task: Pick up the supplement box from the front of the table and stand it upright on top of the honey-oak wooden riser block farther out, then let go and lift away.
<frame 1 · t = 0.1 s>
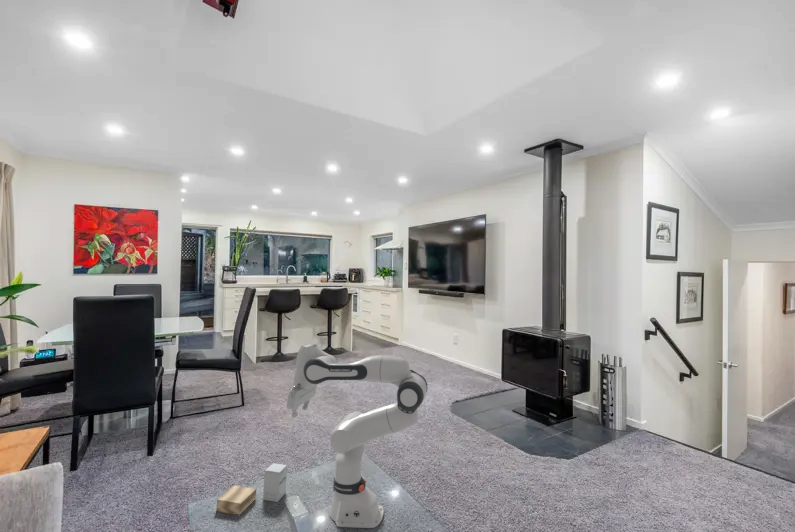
hand: (299, 412, 160), 39 cm above the table, tool pointing down, fingers open, 8 cm apart
oak riser block: (236, 506, 156), on the table
supplement box: (274, 496, 163), on the table
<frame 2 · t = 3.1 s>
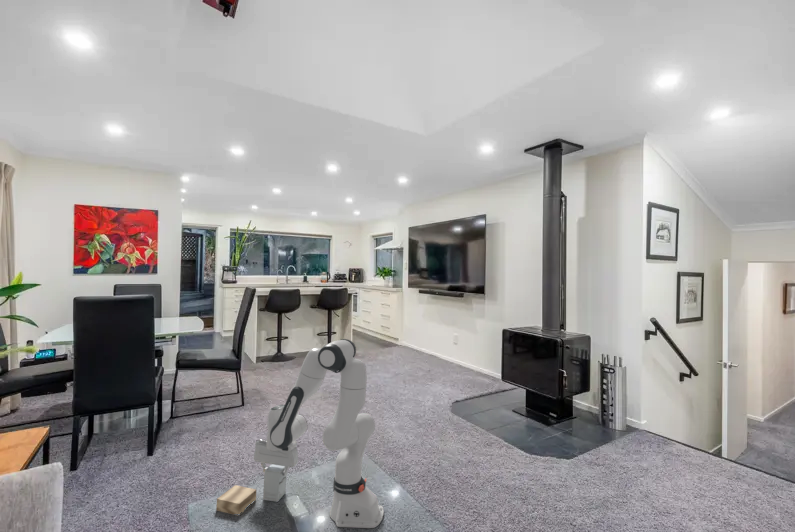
hand: (274, 473, 164), 10 cm above the table, tool pointing down, fingers open, 8 cm apart
supplement box: (274, 496, 163), on the table, touching gripper
everything else where it was.
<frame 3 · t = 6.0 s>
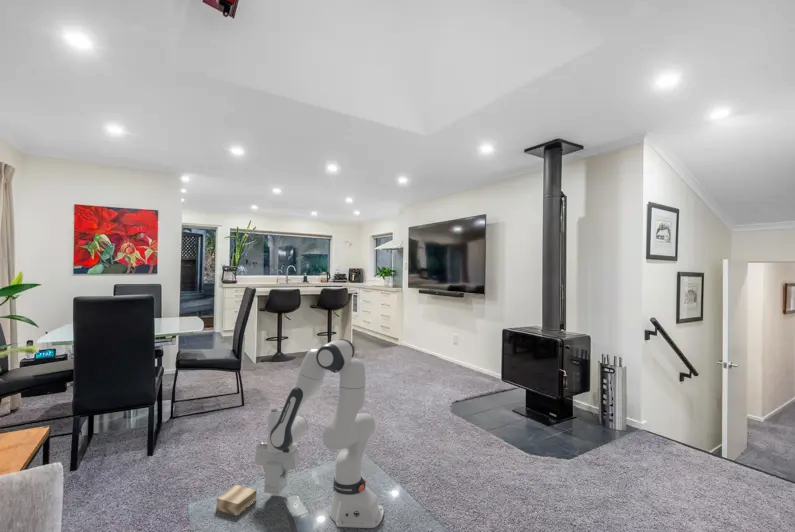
hand: (276, 476, 164), 9 cm above the table, tool pointing down, fingers closed on supplement box, 7 cm apart
supplement box: (275, 490, 163), point 3 cm above the table, touching gripper
everything else where it was.
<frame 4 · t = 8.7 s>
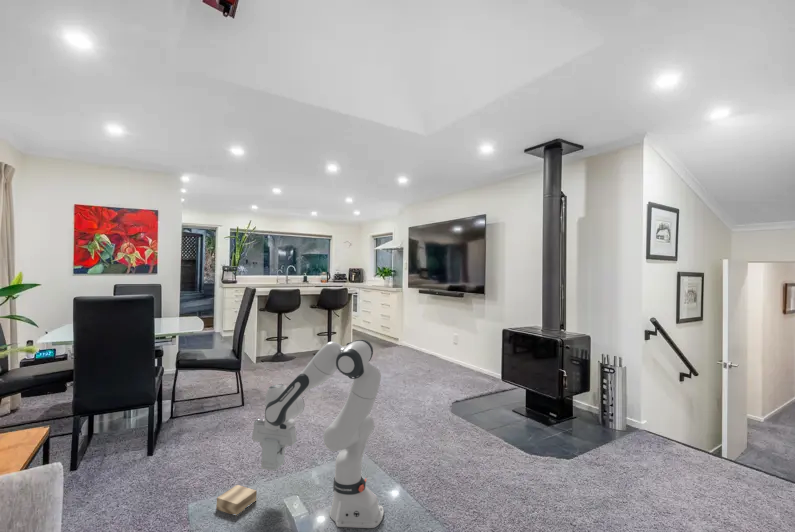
hand: (273, 452, 164), 19 cm above the table, tool pointing down, fingers closed on supplement box, 7 cm apart
supplement box: (272, 466, 163), point 13 cm above the table, touching gripper
everything else where it was.
when the fingers open (12 cm above the table, at t = 13.7 s): supplement box moves 1 cm, resting on oak riser block.
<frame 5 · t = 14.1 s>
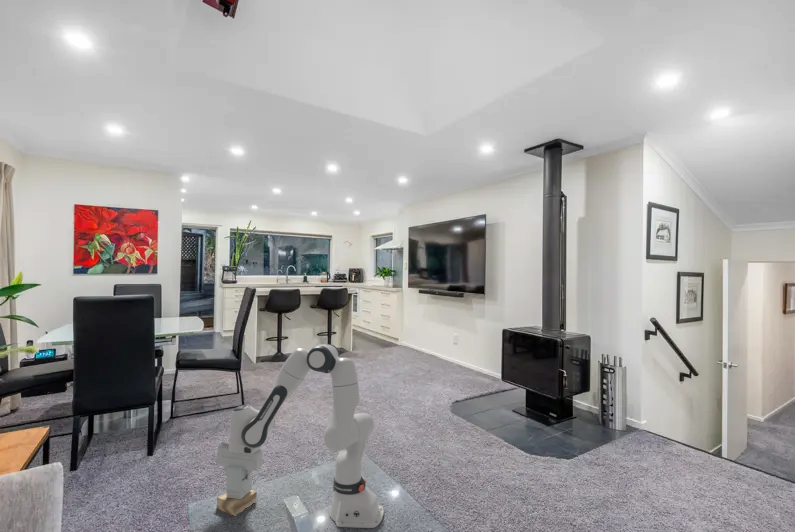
hand: (238, 477, 157), 12 cm above the table, tool pointing down, fingers open, 8 cm apart
oak riser block: (236, 506, 156), on the table, touching supplement box
supplement box: (239, 494, 156), point 5 cm above the table, touching gripper, oak riser block
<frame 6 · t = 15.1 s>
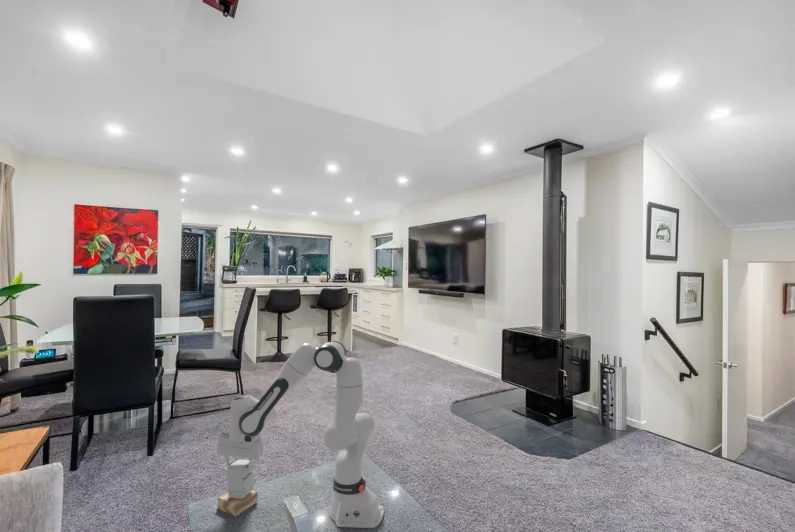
hand: (239, 466, 157), 16 cm above the table, tool pointing down, fingers open, 8 cm apart
supplement box: (241, 494, 156), point 5 cm above the table, touching oak riser block
everything else where it was.
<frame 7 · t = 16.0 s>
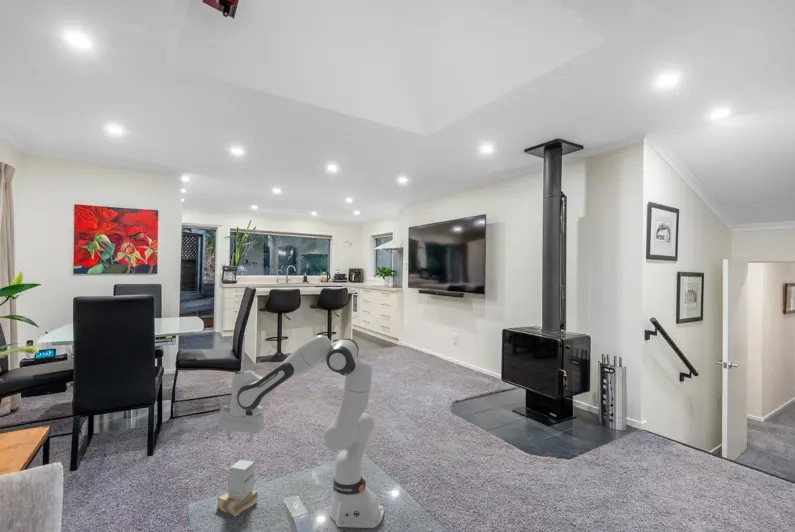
hand: (239, 440, 157), 27 cm above the table, tool pointing down, fingers open, 8 cm apart
oak riser block: (237, 506, 156), on the table
supplement box: (240, 495, 156), point 4 cm above the table
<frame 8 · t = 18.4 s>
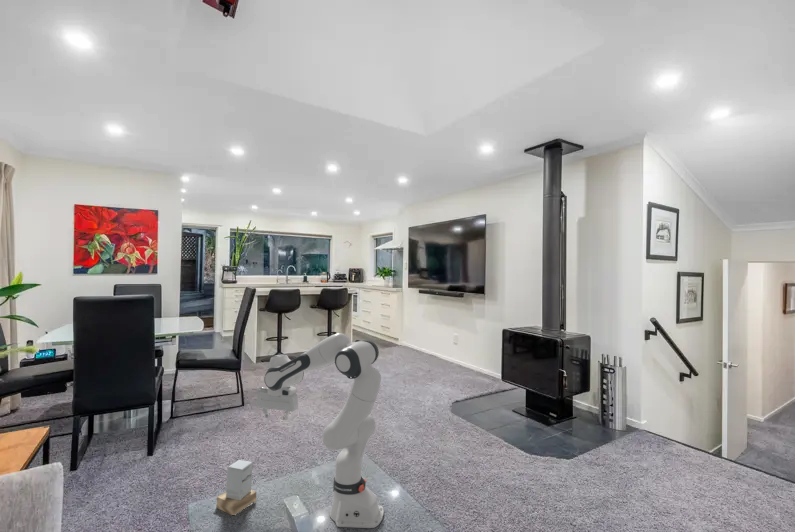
hand: (276, 418, 173), 31 cm above the table, tool pointing down, fingers open, 8 cm apart
oak riser block: (236, 506, 156), on the table, touching supplement box
supplement box: (238, 495, 156), point 4 cm above the table, touching oak riser block
at the end: supplement box 0.8 cm off-centre on the oak riser block, point 4.8 cm above the oak riser block's base; supplement box tilted 0°; the gripper is holding nothing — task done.
